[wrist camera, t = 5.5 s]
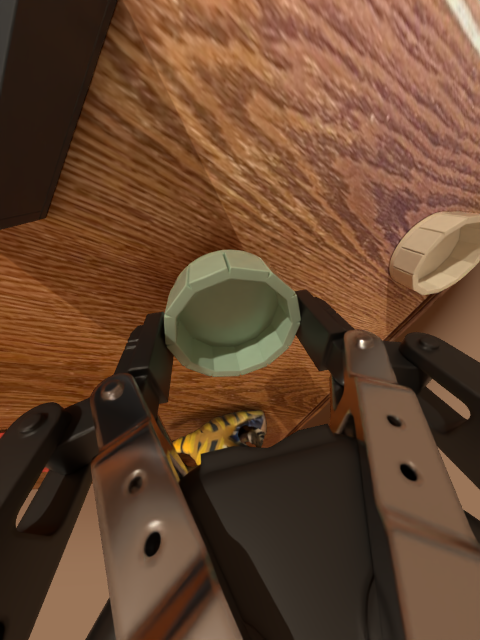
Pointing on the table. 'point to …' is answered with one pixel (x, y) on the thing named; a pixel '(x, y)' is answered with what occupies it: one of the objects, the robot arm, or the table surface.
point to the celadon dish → (230, 314)
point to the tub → (42, 94)
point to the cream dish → (437, 252)
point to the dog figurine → (224, 434)
